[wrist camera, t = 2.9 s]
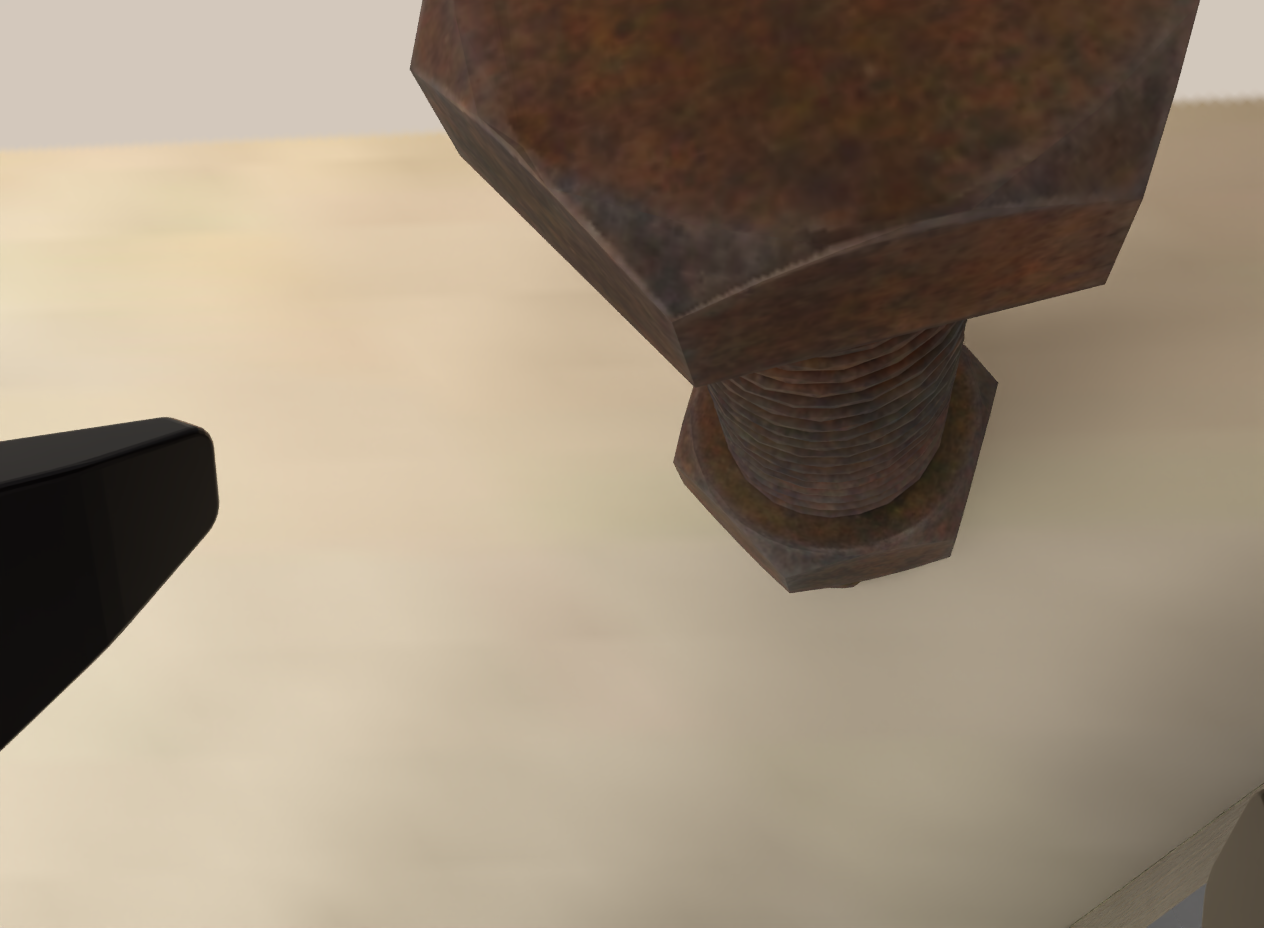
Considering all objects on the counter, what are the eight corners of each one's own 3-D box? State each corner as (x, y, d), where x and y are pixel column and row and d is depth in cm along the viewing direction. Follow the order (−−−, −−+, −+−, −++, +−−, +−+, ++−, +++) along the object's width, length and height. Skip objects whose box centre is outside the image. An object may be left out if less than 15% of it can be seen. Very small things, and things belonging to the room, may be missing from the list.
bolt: (645, 496, 22) (274, -76, 8) (827, 331, 22) (776, -494, 8) (850, 715, 20) (833, 460, 6) (1047, 530, 20) (1472, -125, 6)
